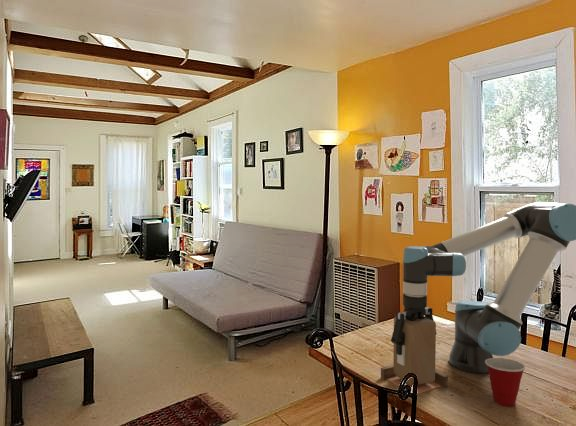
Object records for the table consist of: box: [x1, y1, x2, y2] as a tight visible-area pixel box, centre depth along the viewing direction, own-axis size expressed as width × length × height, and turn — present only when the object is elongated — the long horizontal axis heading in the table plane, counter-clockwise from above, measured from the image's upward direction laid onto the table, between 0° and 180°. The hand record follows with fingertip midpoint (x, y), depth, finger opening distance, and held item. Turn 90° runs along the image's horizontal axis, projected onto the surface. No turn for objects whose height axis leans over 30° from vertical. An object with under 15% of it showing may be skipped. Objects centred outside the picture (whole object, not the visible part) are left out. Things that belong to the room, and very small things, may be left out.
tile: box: [386, 376, 442, 395], centre depth 136 cm, size 12×12×1 cm
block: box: [392, 316, 437, 385], centre depth 135 cm, size 10×10×20 cm
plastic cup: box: [485, 357, 526, 407], centre depth 123 cm, size 11×11×12 cm
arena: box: [380, 364, 449, 388], centre depth 136 cm, size 15×15×4 cm
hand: (413, 360), depth 135 cm, fingers closed on block, 11 cm apart
